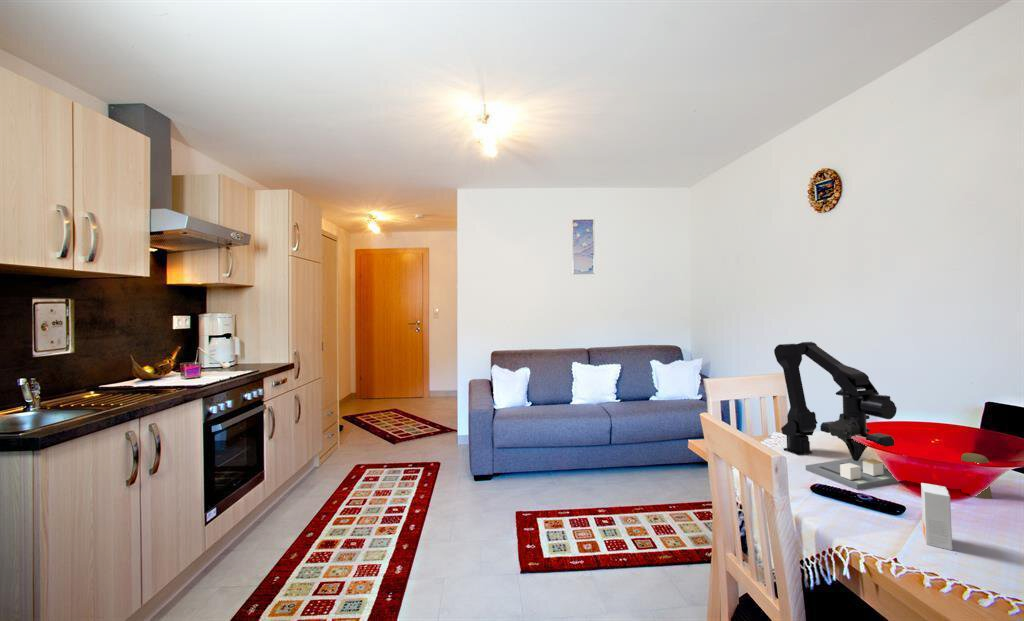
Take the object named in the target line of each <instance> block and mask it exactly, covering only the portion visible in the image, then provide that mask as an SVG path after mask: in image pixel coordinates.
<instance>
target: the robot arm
mask: <svg viewBox="0 0 1024 621" xmlns="http://www.w3.org/2000/svg"><path fill="white" fill-rule="evenodd" d="M773 352H774V356H775V359H776V361H777V363H778V364H779V365H780V367H781V368H782V370H783V376H784V381H785V386H786V391H787V395H788V401H789V406H790V408H789V410H788V413H787V416H786V417H787V422H786V423H785V424H784V425H783V426H782V427H781V428H780V430H781V433H782V435H784V436H786V447H784V448H783V450H784V451H787V452H789V453H791V454H795V455H796V456H797V455H798V456H803V455H808V454H813V451H811V442H810V441H809V439H810V438H809V436H813V434H814V432H815V431H816V429H817V424H818V421H817V416H816V415H817V414H816V412H814V411H811V410H810V409H809V408H808V407H807V401H806V396H805V392H804V391H805V390H804V386H803V381H802V376H801V372H800V365H801V363H802V361H803V355H805V356H806V357H807V358H808V359H810V360H812V361H813V362H814V363H816V364H817V365H818V366H819V367H821V368H822V369H823V370H824V371H826V372H827V373H829V374H830V376H831V377H832V379H833V381H834V382H835V384H836V385H837V386H838V387H840V390H837V392H835V395H836V396H841V397H842V413H839V416H838V420H835V421H833V420H832V421H825V422H822V423H821V424H820V426H819V427H820V432H824V433H826V434H830V436H832V437H837V438H838V439H840V440H841V441H842V442H844V443H845V445H846V447H847V448H848V451H849V454H850V456H851V458H853V460H854V461H858V460H859V459H860V457H862V455H863V454H864V452H865V450H866V449H867V447H868V446H865V445H863V444H861V443H858V442H856V441H854V440H853V439H851V437H852V436H855V437H862V438H866V440H870V441H873V442H875V443H877V444H880V445H883V446H885V447H884V448H888V447H893V446H895V439H894V438H893V436H892V435H889V434H885V433H882V432H881V433H880V432H878V433H870V432H871V428H868V427H867V420H869V419H870V416H871V417H876V418H880V419H885V420H891V419H893V418H894V417H895V416H896V414H897V410H898V409H897V406H896V403H895V402H894V401H893V400H891V396H890V395H886V394H885V395H883V394H880V393H879V391H878V390H877V389H876V387H875V386H874V384H873V382H871V380H870V378H869V376H868V374H867V373H865V371H861V370H859V369H858V368H855V367H852V366H849V365H846V364H844V363H843V362H841V361H839V360H838V359H836V358H835V357H834V356H833V355H831V354H829V353H828V352H826V351H825V349H823V348H821V347H819V346H818V345H817V344H816V342H813V341H802V342H800V343H783V344H777V345H776V346H775V348H774V349H773Z"/></svg>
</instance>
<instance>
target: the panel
mask: <svg viewBox="0 0 1024 621" xmlns="http://www.w3.org/2000/svg"><path fill="white" fill-rule="evenodd" d="M868 459H869V458H868V457H865V456H864V457H863V456H861V457H860V459H859V460H858V461H854V460H853V458H852V457H850V458H843V459H837V460H831V461H824V462H818V463H813V464H812V463H811V464H806V465H805V471H807V472H810V473H813V474H815V475H818V476H820V477H823V478H825V479H828V480H831V481H833V482H835V483H837V484H841V485H844V486H846V487H849V488H852V489H854V490H857V491H859V490H863V489H864V490H865V489H868V488H869V489H870V488H875V487H881V486H884V485H890V484H896V483H899V482H898V481H897V480H896V479H895V478H894V477H893V476H892V474H891V473H890V472H889V471H888V470H887V469H884V463H883V474H882V475H876V476H872V475H869V474H866V473H863V460H868ZM847 463H852V464H855V465H858V466H860V468H861V478H859V479H853V480H850V479H847V478H844V477H841V476H840V464H847Z"/></svg>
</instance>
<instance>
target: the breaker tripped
mask: <svg viewBox="0 0 1024 621" xmlns="http://www.w3.org/2000/svg"><path fill="white" fill-rule="evenodd" d="M867 459H868V460H863V473H866V474H869V475H872V476H876V475H882V474H883V464H884V461H881V460H877V459H874V458H867Z"/></svg>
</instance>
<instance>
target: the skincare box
mask: <svg viewBox="0 0 1024 621" xmlns="http://www.w3.org/2000/svg"><path fill="white" fill-rule="evenodd" d="M920 489H921V490H920V491H921V492H920V493H921V496H920V497H921V514H922V515H921V516H922V534H923V537H924V540H925V545H927V546H931V547H935V548H939V549H942V550H943V549H944V550H947V551H948V550H949V551H953V534H952V533H953V530H952V510H951V495H950V492H949V490H948V489H947V487H946V486H942V485H937V484H931V483H924V482H921V483H920Z"/></svg>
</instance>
